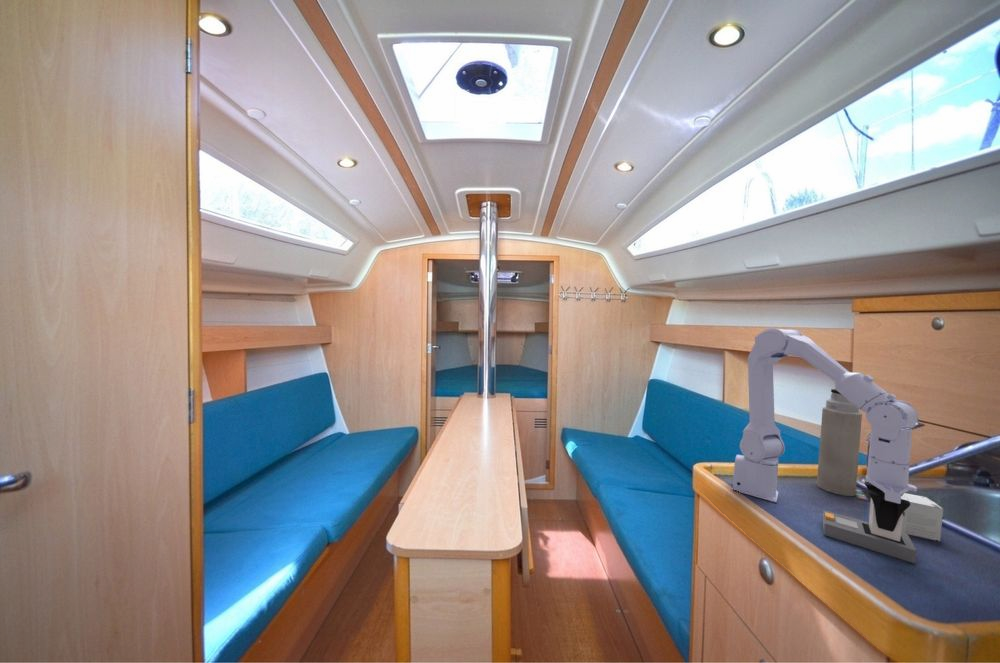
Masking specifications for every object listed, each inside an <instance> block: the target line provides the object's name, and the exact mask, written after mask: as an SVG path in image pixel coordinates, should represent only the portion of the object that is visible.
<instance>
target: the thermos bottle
mask: <svg viewBox="0 0 1000 663" xmlns="http://www.w3.org/2000/svg"><path fill="white" fill-rule="evenodd" d="M830 392H831V394H830V398H828V399H826V401H825V406H823V407H822V412H821V424H820V438H819V439H820V440H819V451H818V462H817V463H818V466H817V476H816V478H817V479H816V486H818V488H820V489H822V490H824V491H827V492H830V493H833V494H837V495H840V496H846V497H847V496H848V497H855V494H856V489H857V483H858V482H857V481H858V471H859V457H860V456H859V455H860V454H859V453H860V446H861V444H860V443H861V432H862V419H863V417H862V416H863V414H862V412H860V409H859V408H858V407H857V406H855V405H854V404H853V403H852V402H850V401H849V400H848V399H847V398H845V397H844V396H843V395H842V394H841V393H839V392H838V391H837V390H836V388H831V389H830Z"/></svg>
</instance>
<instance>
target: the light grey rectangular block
mask: <svg viewBox="0 0 1000 663" xmlns="http://www.w3.org/2000/svg"><path fill="white" fill-rule="evenodd" d="M868 522H869V528H870V531H871V533H872V534H876V535H879V536H882V537H886V538H889V539H893V540H896V541H899V542H900V537H901V525H902V514H901V516H900V518H899V520H898V522H897V525H896V527H895V529H894V531H893V532H891V531H888V530H884V529H881V528H878V525H877V522H876V515H875V508H874V504H873V501H872V498H871V502H869V517H868Z"/></svg>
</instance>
